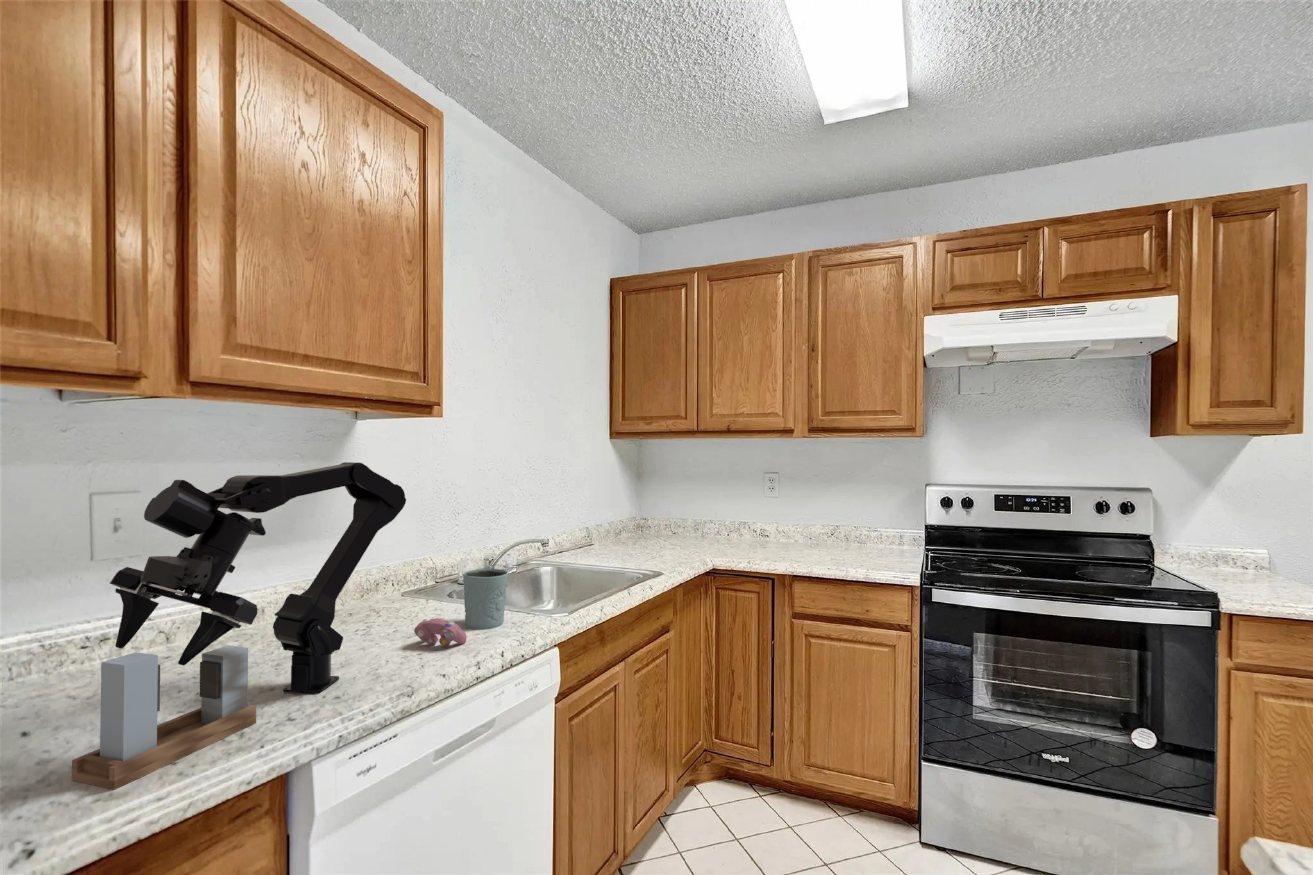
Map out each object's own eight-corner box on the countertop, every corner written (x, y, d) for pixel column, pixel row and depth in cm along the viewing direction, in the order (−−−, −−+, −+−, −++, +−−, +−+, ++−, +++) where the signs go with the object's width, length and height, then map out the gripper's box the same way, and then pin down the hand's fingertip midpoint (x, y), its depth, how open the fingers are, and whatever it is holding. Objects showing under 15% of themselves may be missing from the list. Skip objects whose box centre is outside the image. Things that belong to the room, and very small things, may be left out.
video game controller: (417, 651, 131) (408, 625, 128) (428, 636, 135) (420, 610, 132) (459, 655, 129) (451, 629, 126) (470, 639, 133) (462, 613, 130)
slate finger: (138, 749, 83) (140, 650, 83) (161, 753, 82) (162, 653, 82) (99, 766, 79) (101, 662, 79) (122, 770, 77) (124, 665, 78)
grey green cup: (460, 620, 149) (461, 570, 149) (504, 616, 153) (504, 567, 153) (465, 632, 139) (465, 578, 139) (511, 627, 143) (511, 574, 143)
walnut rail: (218, 716, 95) (219, 644, 96) (256, 722, 93) (257, 648, 94) (71, 780, 77) (73, 690, 77) (114, 789, 75) (116, 697, 75)
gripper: (120, 515, 87) (41, 626, 80) (246, 548, 86) (178, 663, 79) (169, 542, 97) (102, 643, 89) (282, 572, 96) (224, 677, 88)
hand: (149, 656), depth 86 cm, fingers open, 9 cm apart
